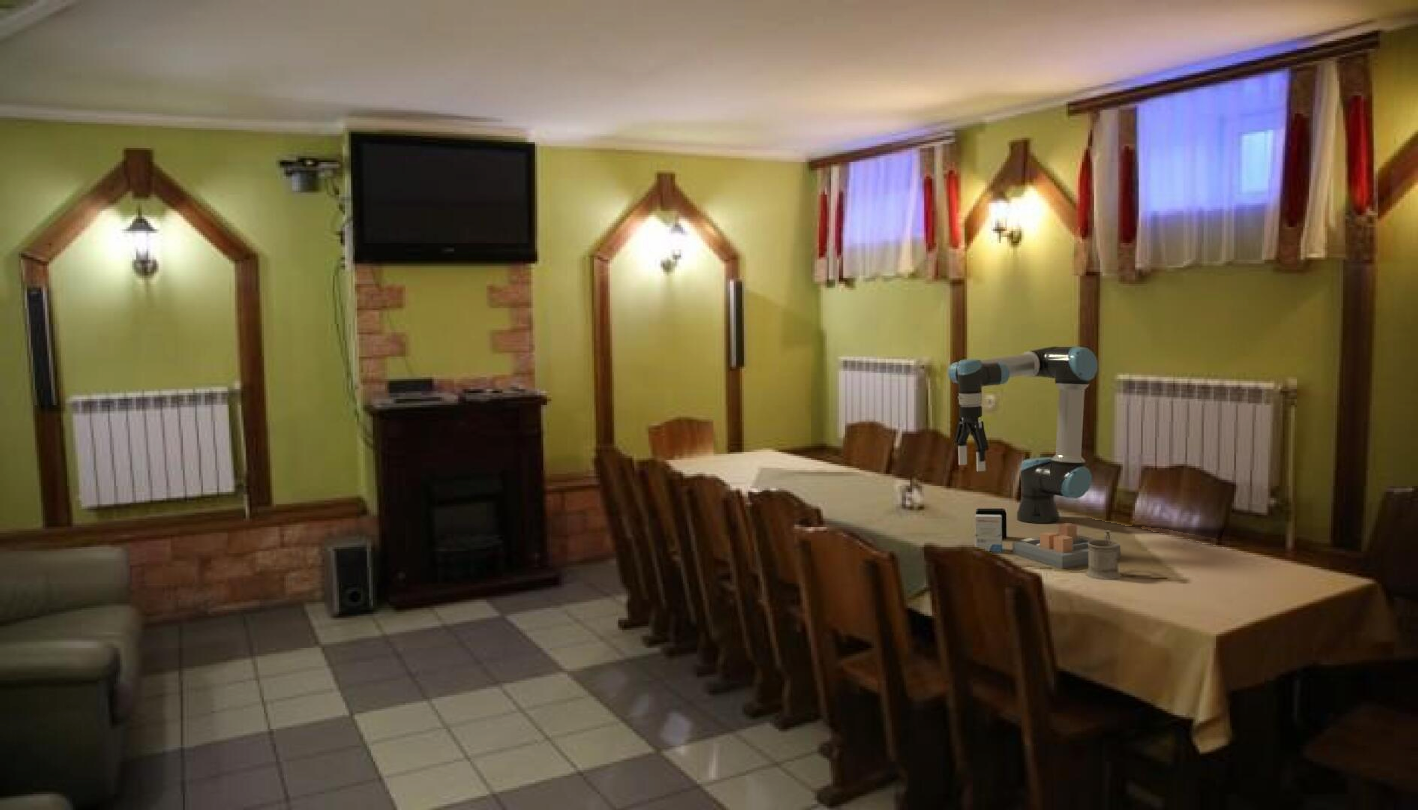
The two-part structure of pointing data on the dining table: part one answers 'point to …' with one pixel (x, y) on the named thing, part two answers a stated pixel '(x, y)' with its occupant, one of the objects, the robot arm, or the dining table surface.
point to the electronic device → (995, 512)
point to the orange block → (1063, 544)
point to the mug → (1103, 559)
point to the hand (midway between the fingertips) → (971, 467)
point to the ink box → (988, 532)
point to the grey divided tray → (1055, 552)
